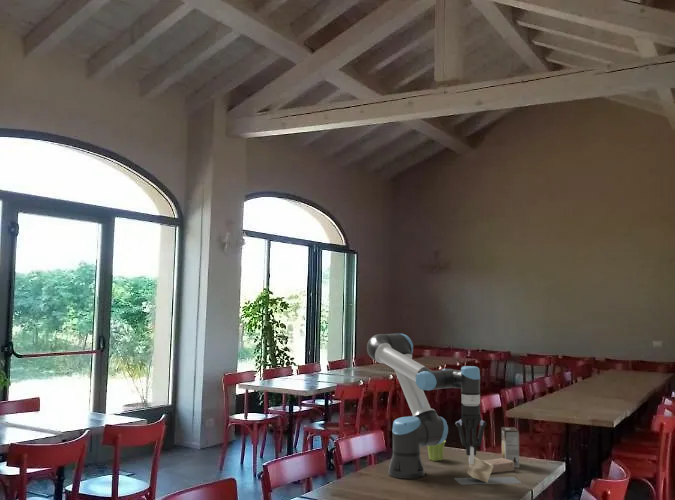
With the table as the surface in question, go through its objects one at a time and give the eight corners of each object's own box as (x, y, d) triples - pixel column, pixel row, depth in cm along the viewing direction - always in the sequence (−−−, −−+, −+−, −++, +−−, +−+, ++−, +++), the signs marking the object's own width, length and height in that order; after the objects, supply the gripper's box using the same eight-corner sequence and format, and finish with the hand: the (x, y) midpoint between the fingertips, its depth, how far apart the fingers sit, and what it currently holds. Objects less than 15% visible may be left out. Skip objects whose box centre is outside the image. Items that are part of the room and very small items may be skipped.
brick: (482, 475, 295) (482, 464, 296) (471, 470, 303) (471, 459, 303) (515, 472, 301) (515, 461, 301) (504, 468, 309) (504, 457, 309)
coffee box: (501, 462, 318) (500, 426, 319) (515, 462, 317) (514, 426, 319) (505, 467, 308) (505, 430, 310) (520, 467, 308) (519, 430, 309)
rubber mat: (460, 485, 278) (460, 484, 278) (453, 479, 288) (453, 478, 288) (522, 484, 281) (522, 483, 281) (513, 477, 290) (513, 476, 290)
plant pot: (423, 461, 320) (423, 441, 320) (427, 456, 329) (427, 438, 329) (444, 462, 317) (444, 443, 317) (447, 458, 326) (447, 439, 326)
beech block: (471, 476, 280) (477, 460, 281) (466, 472, 287) (472, 456, 288) (487, 482, 281) (493, 466, 281) (482, 478, 288) (487, 462, 288)
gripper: (457, 406, 281) (458, 465, 280) (489, 405, 282) (489, 465, 281) (452, 403, 289) (453, 461, 287) (483, 403, 290) (484, 461, 288)
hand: (471, 463), depth 284 cm, fingers closed
